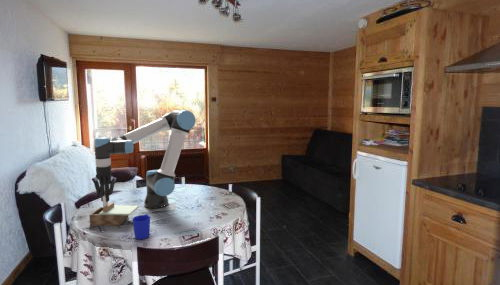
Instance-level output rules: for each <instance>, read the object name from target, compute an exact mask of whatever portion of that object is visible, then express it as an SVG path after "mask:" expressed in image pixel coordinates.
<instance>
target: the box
mask: <svg viewBox="0 0 500 285" xmlns="http://www.w3.org/2000/svg"><path fill="white" fill-rule="evenodd" d="M101 211H103V206H101V207H99V208H97V209H96V210H94V211H93V212H91V213H90V214H89V225H90V226H97V225H100V226H101V227H102V226H105V227H106V226H107V227H110V226H111V227H113V226H114V227H119V226H121V225H122V224H123V223H124V222H126V220H128V218H129V217H130V216H129V215H99V213H100V212H101ZM100 226H99V227H100Z"/></svg>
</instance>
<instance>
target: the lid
mask: <svg viewBox="0 0 500 285" xmlns="http://www.w3.org/2000/svg"><path fill="white" fill-rule="evenodd" d="M102 207H103V206H102ZM138 208H139V205H126V204H125V205H122V204H121V205H120V204H116V205H115V202H114V201H112V202H108V205H106V206H105V207H103V211H101V212H100V213H99V215H128V216H131V215H132V214H133V213H134V212H136V211H137V209H138Z"/></svg>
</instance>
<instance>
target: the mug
mask: <svg viewBox="0 0 500 285" xmlns="http://www.w3.org/2000/svg"><path fill="white" fill-rule="evenodd" d="M132 225H133V234H134V238H135V239H136V240H145V239H147V238H149V236H150V230H151V229H150V228H151V216H150V215H149V214H148V213H145V214H139V215H137V216H134V217H132Z"/></svg>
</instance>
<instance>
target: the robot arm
mask: <svg viewBox="0 0 500 285" xmlns="http://www.w3.org/2000/svg"><path fill="white" fill-rule="evenodd" d="M196 120H197V119H196V117H195V114H194V113H193V112H192V111H191V110H188V109H181V108H180V109H179V108H178V109H174V110H172V111H169V112H168V113H166V114H164V115H162V116H161V118H158V119H156V120H154V121H152V122H150V123H147V124H144V125H142V126H141V127H138V128H136V129H133V130H132V131H129V132H127V133H125V134H122V135H120V136H115V137H113V138H110V137H108V136H107V137H106V136H104V137H103V136H102V137H95V139H94V156H95V172H96V175H95V176H94V177H93V178H91V181H92V182H93V186H94V188H95V190H96V191H95V192H96V194H97V196H100V201H101V203H102V207H105V206H106V205H108V204H109V201H110V196H111V195H112V194H113V192H114V188H115V183H116V181H117V177H114V176H113V174H112V166H111V165H112V159H111V158H112V157H111V156H112V155H121V154H131V153H133V152H134V147H135V146H134V144H137V143H139V142H141V141H143V140H145V139H148V138H150V137H151V136H155V135H156V134H158V133H161V132H164V131H165V130H168V131H169V130H171V135H170V137H169V140H168V144H167V146H166V149H165V153H164V156H163V158H162V159H163V160H162V162H161V166H160V168H159V169H152V170H147V171H146V175H145V177H146V180H145V181H146V195H145V199H144V207H145V208H147V207H150V208H149V209H156V208H155V207H161V206H164V205H167V204H168V205H169V198H168V196H169V195H171V194H173V192H174V191H175V188H176V184H175V178H176V173H175V170H176V167H177V164H178V161H179V158H180V155H181V151H182V148H183V147H184V146H183V145H184V142H185V139H186V137H187V135H189V134H190V132H191V129H193V128H194V127H195V125H196V122H197V121H196ZM168 205H167V206H168ZM164 207H165V206H164ZM161 208H162V207H161Z"/></svg>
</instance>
